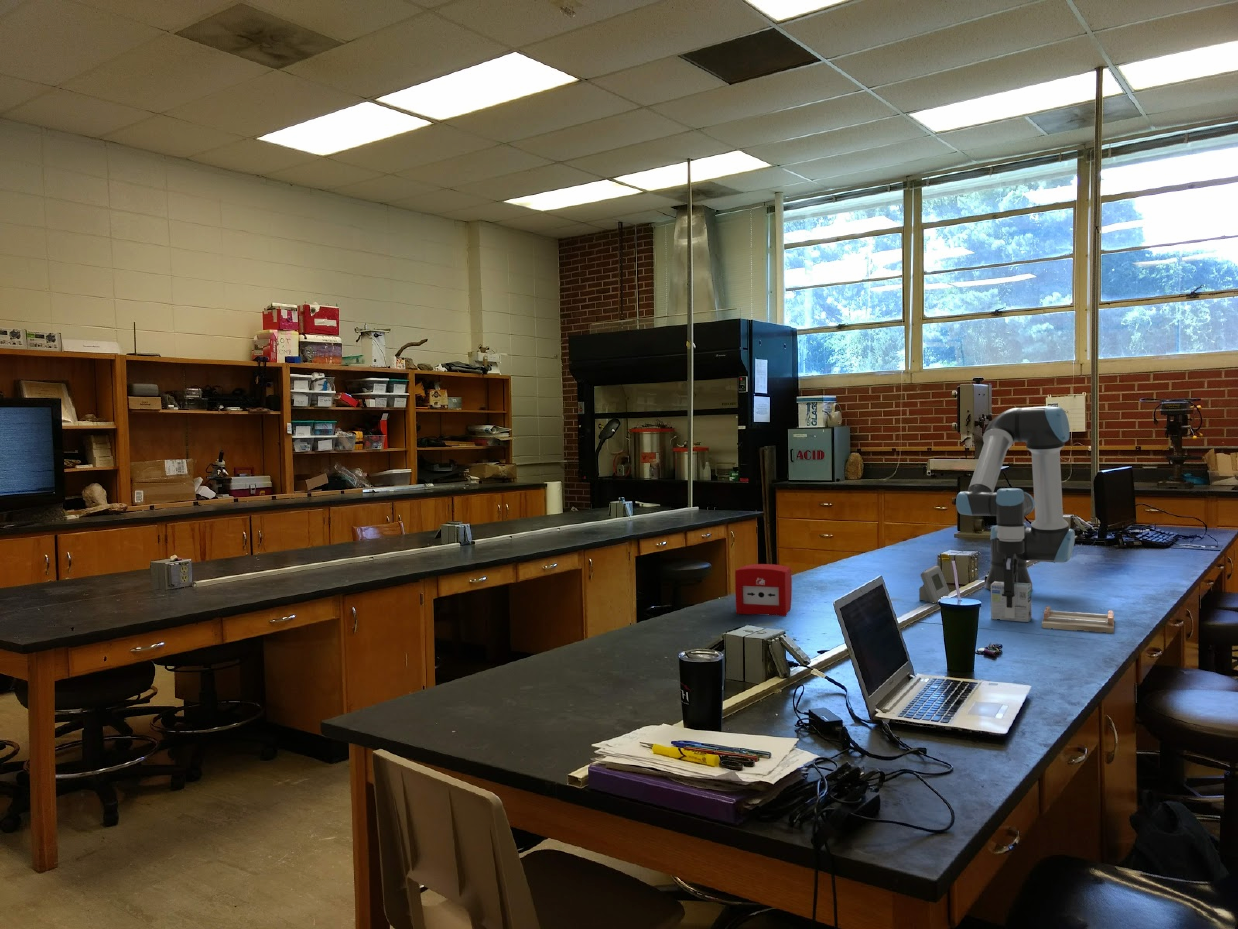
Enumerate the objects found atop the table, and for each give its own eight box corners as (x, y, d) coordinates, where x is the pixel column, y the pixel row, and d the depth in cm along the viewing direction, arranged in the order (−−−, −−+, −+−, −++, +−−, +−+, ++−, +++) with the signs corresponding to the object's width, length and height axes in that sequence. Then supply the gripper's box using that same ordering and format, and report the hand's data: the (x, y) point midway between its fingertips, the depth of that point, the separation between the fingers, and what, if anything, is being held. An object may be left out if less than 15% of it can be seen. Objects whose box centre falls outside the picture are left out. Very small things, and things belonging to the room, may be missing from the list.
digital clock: (935, 605, 289) (935, 573, 288) (910, 601, 296) (909, 570, 295) (958, 597, 300) (958, 566, 300) (933, 594, 307) (933, 564, 306)
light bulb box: (1032, 618, 266) (1031, 582, 265) (1029, 622, 260) (1028, 586, 260) (994, 615, 271) (993, 580, 271) (990, 619, 266) (989, 584, 265)
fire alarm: (735, 614, 284) (734, 568, 284) (743, 607, 294) (742, 562, 294) (785, 616, 278) (784, 569, 277) (792, 609, 288) (791, 564, 287)
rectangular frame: (1046, 612, 266) (1046, 606, 266) (1113, 617, 257) (1113, 610, 257) (1043, 620, 256) (1043, 613, 256) (1112, 625, 248) (1112, 618, 248)
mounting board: (1046, 615, 269) (1046, 610, 269) (1114, 620, 260) (1114, 615, 260) (1041, 627, 253) (1041, 622, 253) (1113, 633, 244) (1113, 628, 244)
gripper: (1001, 535, 275) (1001, 608, 276) (992, 543, 258) (993, 621, 259) (1027, 536, 271) (1028, 610, 272) (1020, 544, 254) (1021, 623, 255)
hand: (1011, 615), depth 266 cm, fingers closed on light bulb box, 7 cm apart
